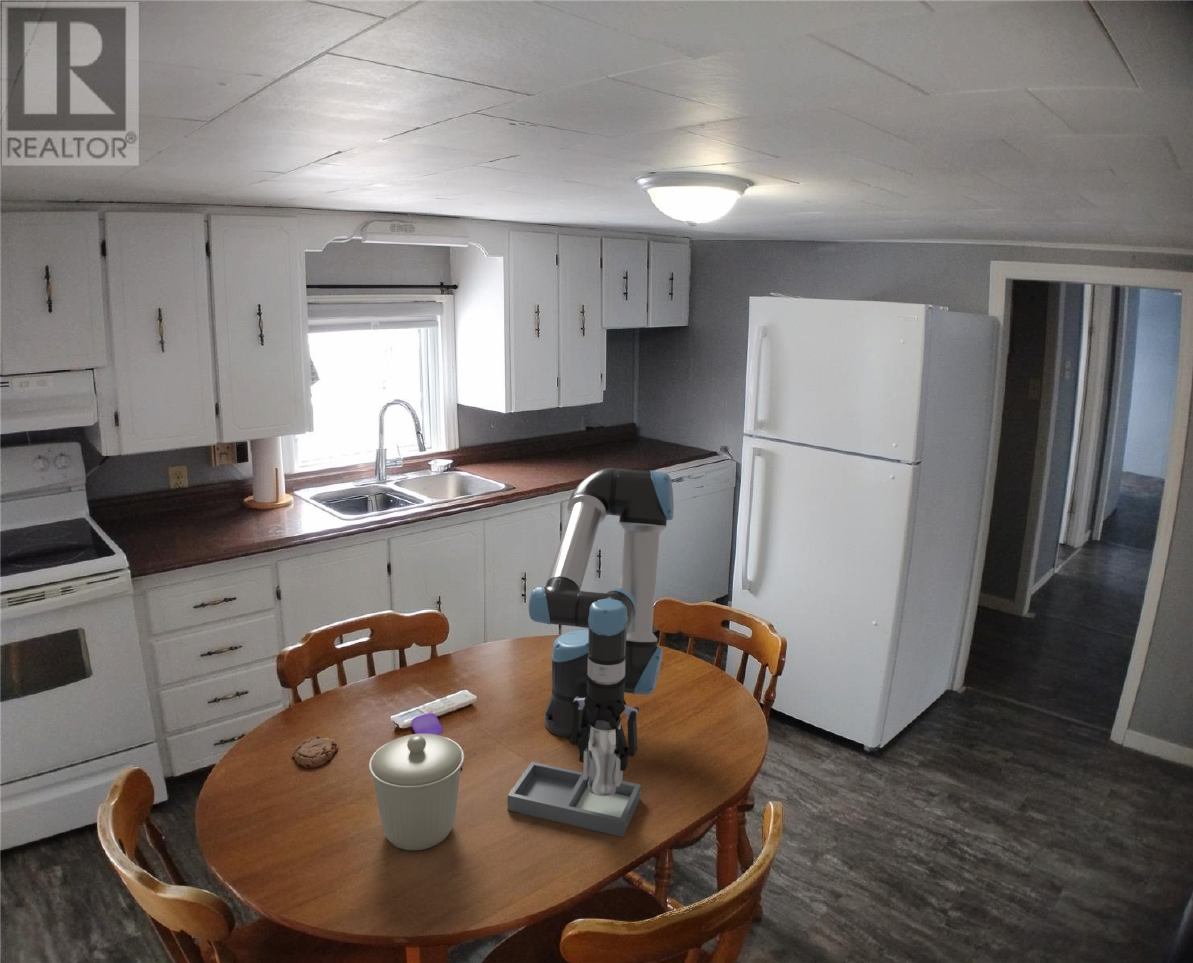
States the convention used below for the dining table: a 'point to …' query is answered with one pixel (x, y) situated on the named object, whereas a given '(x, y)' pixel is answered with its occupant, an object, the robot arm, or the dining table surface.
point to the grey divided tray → (572, 799)
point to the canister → (417, 788)
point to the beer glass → (602, 758)
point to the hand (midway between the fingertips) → (602, 779)
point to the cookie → (314, 751)
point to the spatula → (427, 725)
